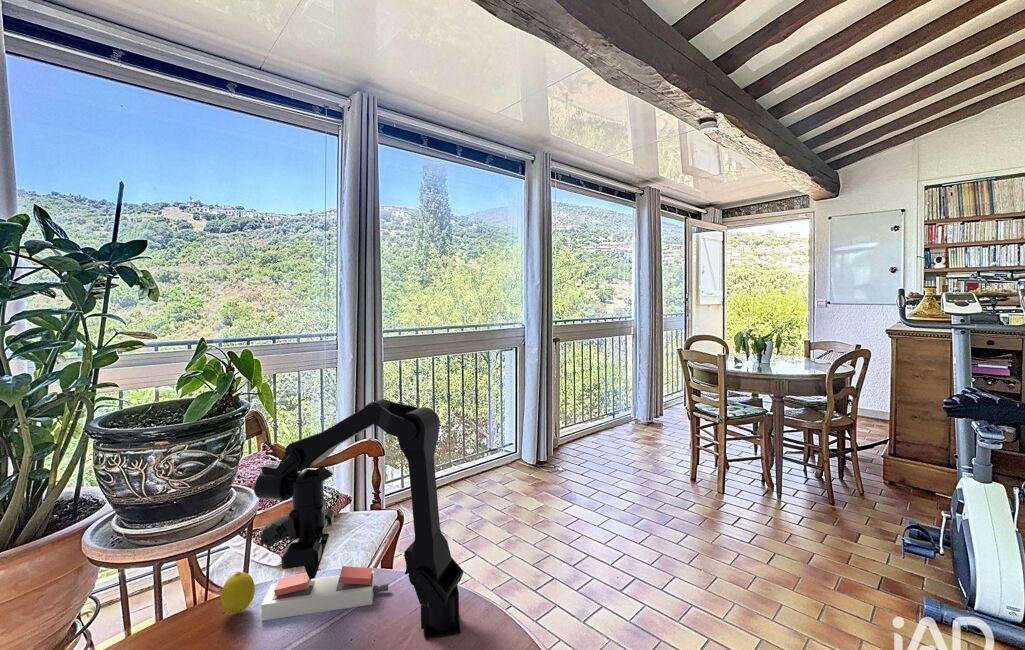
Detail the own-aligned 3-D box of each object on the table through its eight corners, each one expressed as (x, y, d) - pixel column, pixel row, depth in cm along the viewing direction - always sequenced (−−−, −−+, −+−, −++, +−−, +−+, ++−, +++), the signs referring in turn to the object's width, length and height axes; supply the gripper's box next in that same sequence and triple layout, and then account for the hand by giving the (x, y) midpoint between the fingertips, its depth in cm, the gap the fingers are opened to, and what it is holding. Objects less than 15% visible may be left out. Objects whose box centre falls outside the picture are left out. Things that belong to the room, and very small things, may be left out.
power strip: (389, 582, 98) (388, 568, 98) (387, 602, 91) (387, 586, 91) (272, 598, 93) (271, 583, 93) (261, 620, 86) (261, 604, 86)
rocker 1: (312, 576, 93) (311, 571, 93) (308, 588, 89) (307, 582, 89) (280, 584, 92) (279, 578, 91) (275, 596, 88) (274, 590, 88)
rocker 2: (371, 573, 95) (372, 568, 95) (369, 584, 92) (370, 578, 92) (341, 571, 94) (342, 566, 94) (338, 582, 90) (339, 576, 90)
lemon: (244, 622, 85) (243, 580, 85) (215, 622, 85) (214, 580, 85) (261, 604, 91) (260, 564, 91) (233, 604, 91) (232, 564, 91)
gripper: (277, 488, 98) (281, 560, 98) (247, 528, 80) (252, 615, 80) (332, 482, 100) (336, 551, 101) (315, 519, 82) (320, 603, 83)
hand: (312, 577), depth 91 cm, fingers closed, pressing on rocker 1
